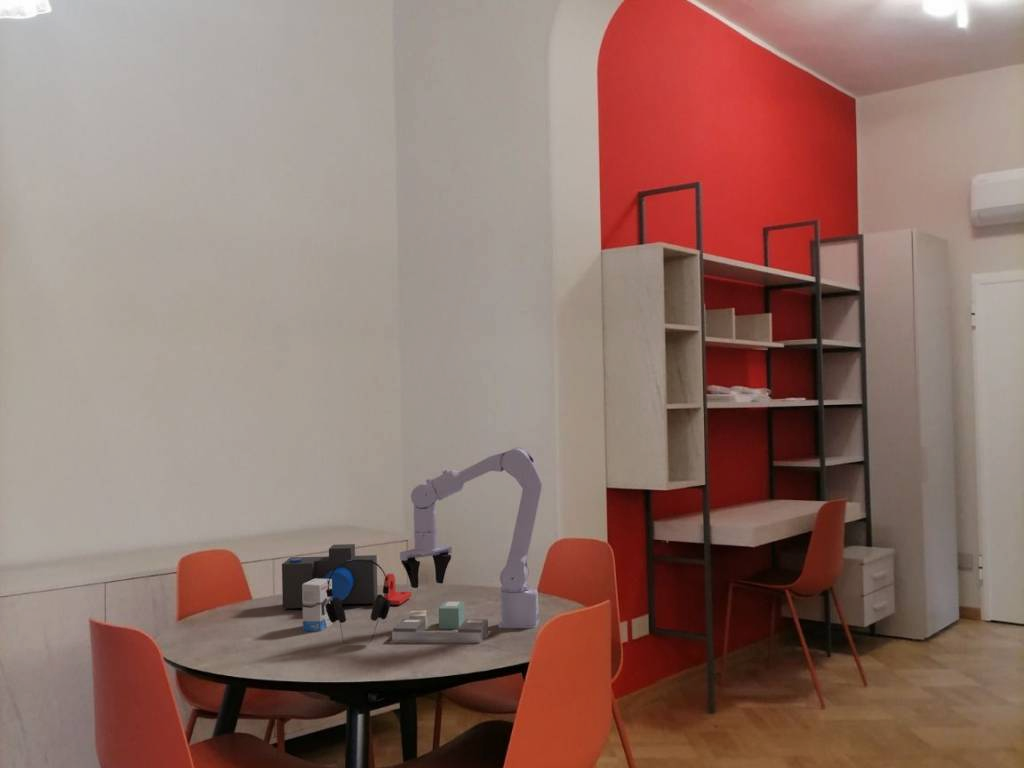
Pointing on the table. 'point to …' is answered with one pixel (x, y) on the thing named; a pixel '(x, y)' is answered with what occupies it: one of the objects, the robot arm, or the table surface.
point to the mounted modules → (466, 626)
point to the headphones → (379, 606)
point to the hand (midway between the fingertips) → (427, 585)
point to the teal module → (451, 614)
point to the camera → (348, 580)
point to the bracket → (392, 594)
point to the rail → (436, 637)
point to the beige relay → (419, 616)
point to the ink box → (315, 604)
